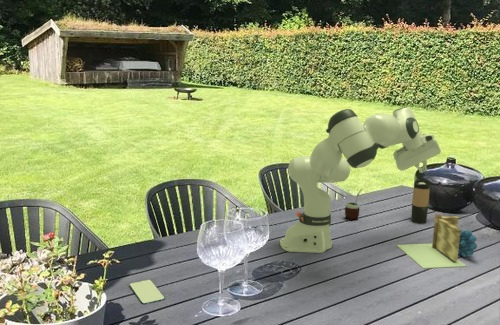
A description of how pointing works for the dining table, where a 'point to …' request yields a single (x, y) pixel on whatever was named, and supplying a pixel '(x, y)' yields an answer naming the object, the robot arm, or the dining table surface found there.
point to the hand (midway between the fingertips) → (423, 171)
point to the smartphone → (146, 291)
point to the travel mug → (420, 202)
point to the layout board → (429, 256)
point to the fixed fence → (451, 220)
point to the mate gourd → (352, 210)
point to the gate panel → (448, 239)
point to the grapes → (467, 243)
